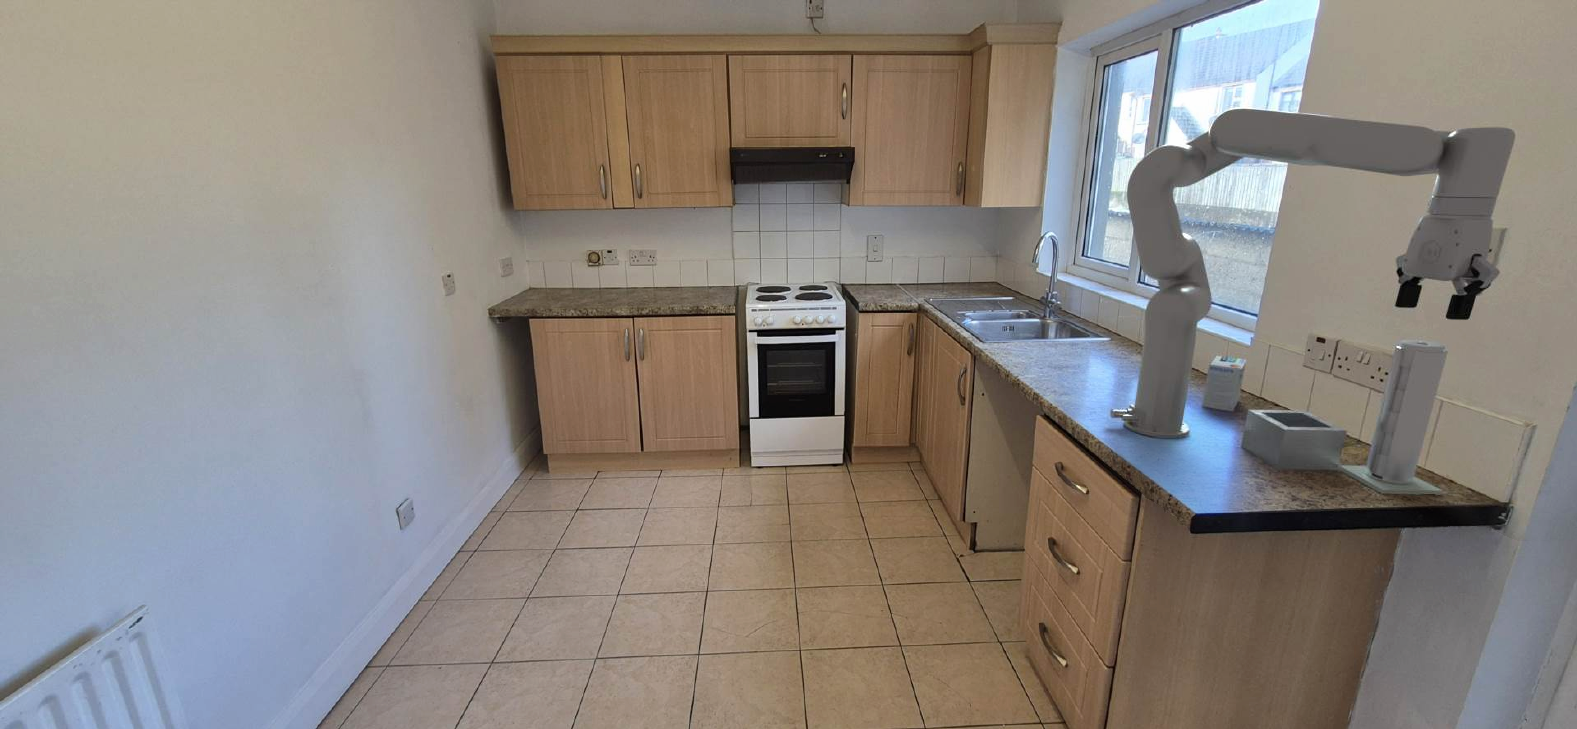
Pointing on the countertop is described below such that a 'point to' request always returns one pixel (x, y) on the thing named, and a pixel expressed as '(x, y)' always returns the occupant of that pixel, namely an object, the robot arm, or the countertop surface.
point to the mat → (1390, 488)
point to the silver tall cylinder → (1405, 411)
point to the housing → (1293, 439)
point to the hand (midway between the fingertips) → (1430, 313)
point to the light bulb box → (1224, 383)
